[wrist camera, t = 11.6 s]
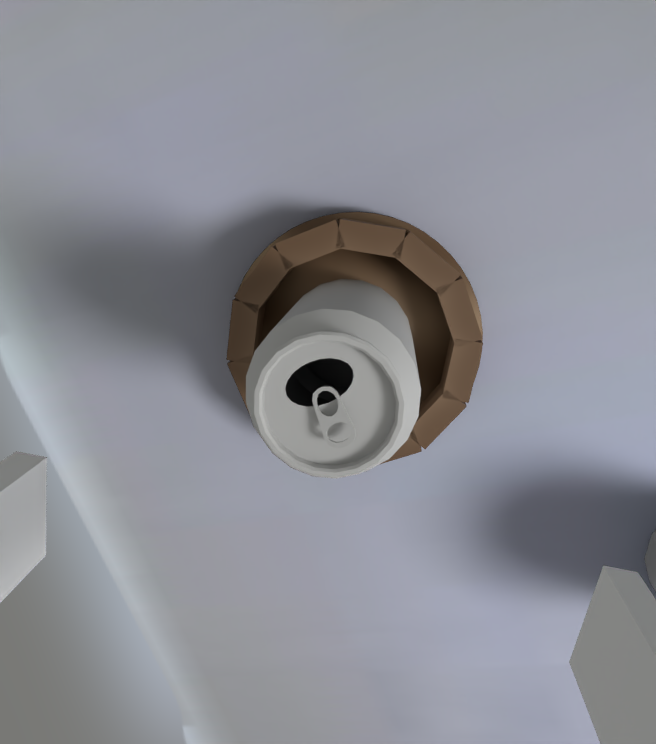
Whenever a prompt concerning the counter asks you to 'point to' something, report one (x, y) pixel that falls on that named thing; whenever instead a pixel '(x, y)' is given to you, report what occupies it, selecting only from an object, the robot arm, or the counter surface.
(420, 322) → the tray
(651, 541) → the cup
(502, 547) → the counter surface
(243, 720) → the counter surface
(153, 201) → the counter surface
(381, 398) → the can
